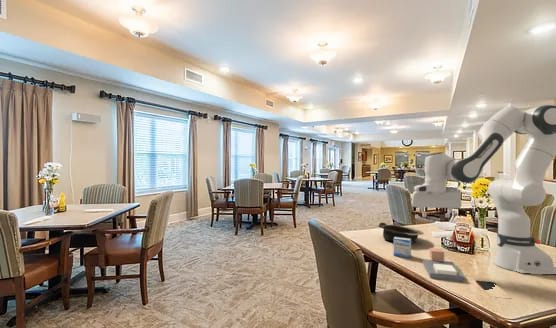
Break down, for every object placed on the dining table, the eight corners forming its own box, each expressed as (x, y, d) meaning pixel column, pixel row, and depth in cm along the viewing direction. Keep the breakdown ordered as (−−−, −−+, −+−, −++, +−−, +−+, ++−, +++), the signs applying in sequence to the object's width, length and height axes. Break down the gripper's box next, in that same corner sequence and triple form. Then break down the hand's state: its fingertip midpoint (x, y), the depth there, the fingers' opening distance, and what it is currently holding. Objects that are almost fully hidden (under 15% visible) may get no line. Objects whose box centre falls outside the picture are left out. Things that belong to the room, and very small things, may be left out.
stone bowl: (370, 239, 169) (371, 224, 170) (390, 235, 186) (390, 221, 186) (413, 248, 151) (413, 231, 151) (430, 242, 168) (431, 227, 168)
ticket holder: (452, 266, 128) (452, 258, 128) (464, 281, 112) (464, 272, 112) (422, 263, 131) (423, 255, 131) (430, 277, 115) (430, 269, 115)
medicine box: (393, 255, 142) (393, 238, 142) (394, 253, 146) (394, 236, 146) (410, 258, 138) (410, 240, 138) (411, 255, 142) (411, 238, 142)
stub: (441, 257, 133) (441, 248, 133) (444, 260, 128) (444, 252, 128) (429, 256, 134) (429, 247, 134) (431, 259, 130) (431, 251, 130)
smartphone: (489, 296, 99) (474, 279, 113) (489, 298, 99) (474, 281, 113) (513, 299, 98) (494, 281, 111) (513, 300, 98) (494, 283, 111)
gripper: (459, 186, 132) (459, 216, 132) (410, 186, 138) (411, 215, 138) (463, 188, 126) (463, 219, 126) (412, 187, 132) (413, 217, 132)
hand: (435, 217), depth 132 cm, fingers open, 8 cm apart
